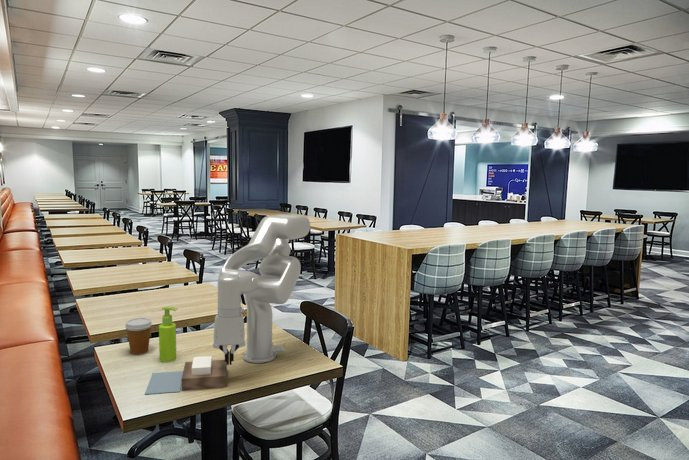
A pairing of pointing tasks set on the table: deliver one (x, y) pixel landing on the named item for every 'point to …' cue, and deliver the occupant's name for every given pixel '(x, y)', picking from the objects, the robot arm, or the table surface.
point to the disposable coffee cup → (138, 335)
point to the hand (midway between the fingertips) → (229, 363)
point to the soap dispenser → (167, 336)
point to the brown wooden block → (205, 376)
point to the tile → (202, 365)
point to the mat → (164, 383)
